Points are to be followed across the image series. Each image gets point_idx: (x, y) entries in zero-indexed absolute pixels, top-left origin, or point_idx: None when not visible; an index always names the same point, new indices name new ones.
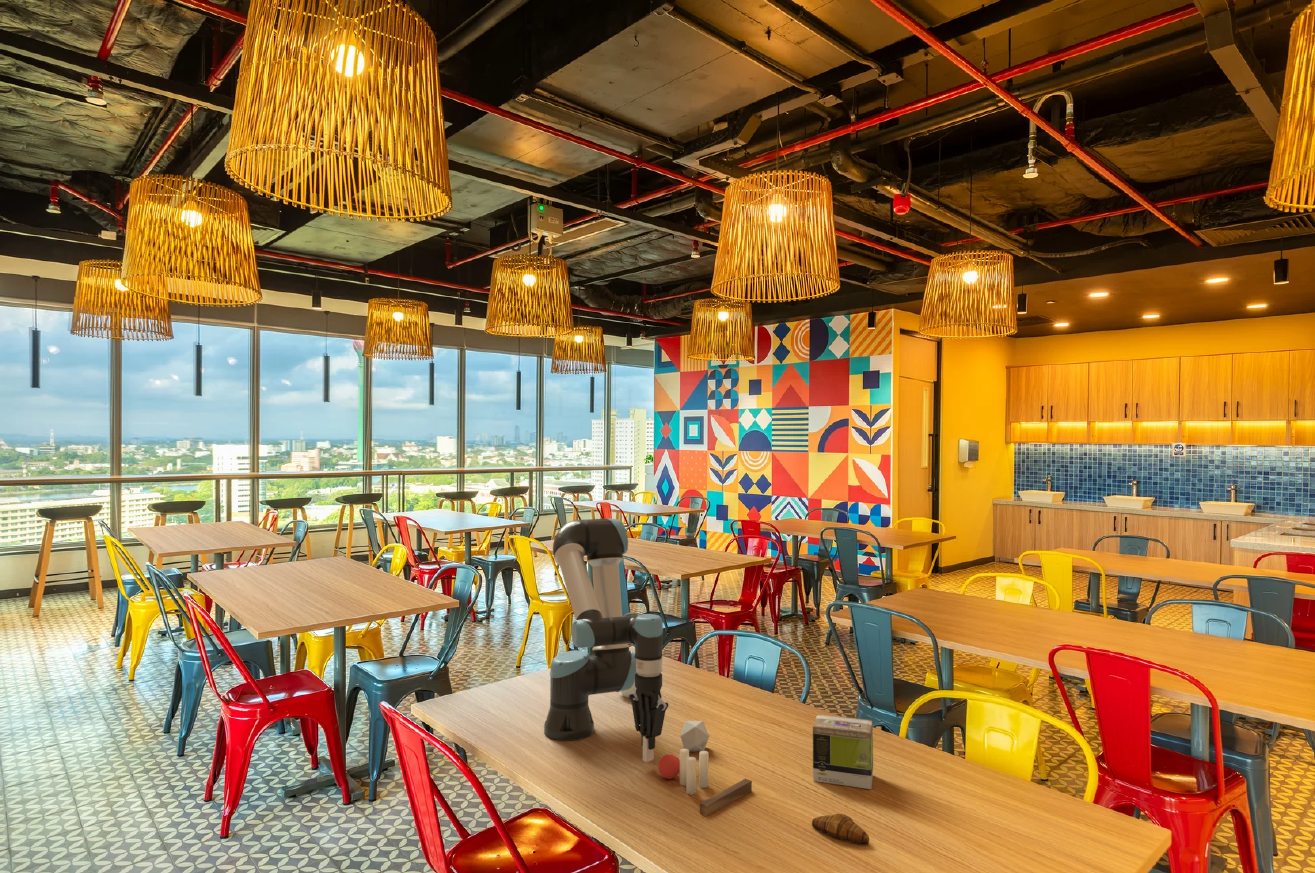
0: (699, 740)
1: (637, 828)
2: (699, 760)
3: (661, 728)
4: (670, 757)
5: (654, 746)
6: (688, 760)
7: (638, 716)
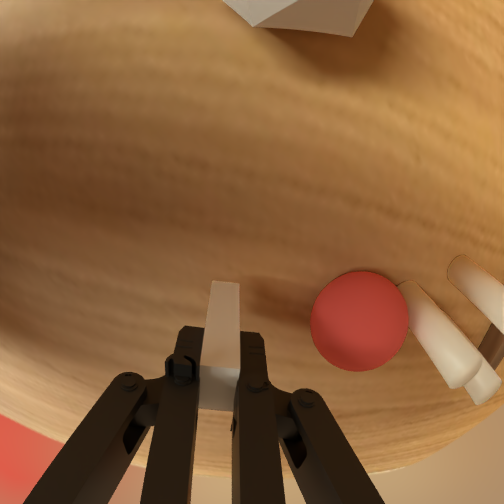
0: (367, 7)
1: (369, 456)
2: (498, 328)
3: (339, 436)
4: (385, 360)
5: (263, 345)
6: (480, 403)
7: (111, 480)
